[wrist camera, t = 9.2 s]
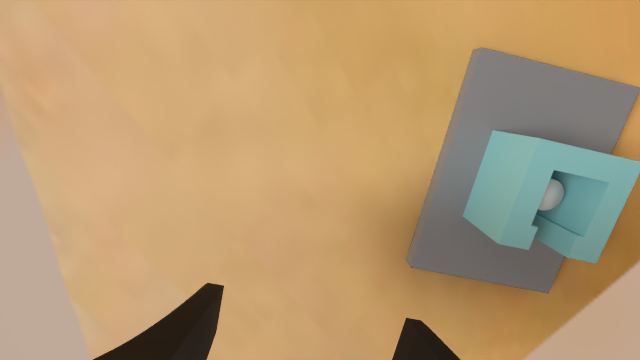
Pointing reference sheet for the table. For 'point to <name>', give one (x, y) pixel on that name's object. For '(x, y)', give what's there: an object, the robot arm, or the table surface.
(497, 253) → the post board
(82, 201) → the table surface
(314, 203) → the table surface
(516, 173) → the teal slotted block
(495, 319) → the table surface
